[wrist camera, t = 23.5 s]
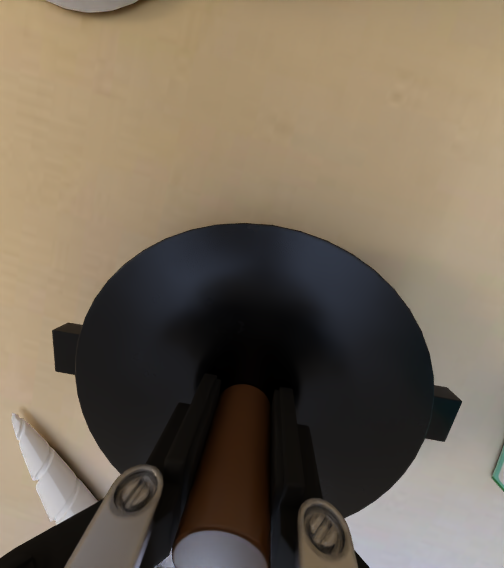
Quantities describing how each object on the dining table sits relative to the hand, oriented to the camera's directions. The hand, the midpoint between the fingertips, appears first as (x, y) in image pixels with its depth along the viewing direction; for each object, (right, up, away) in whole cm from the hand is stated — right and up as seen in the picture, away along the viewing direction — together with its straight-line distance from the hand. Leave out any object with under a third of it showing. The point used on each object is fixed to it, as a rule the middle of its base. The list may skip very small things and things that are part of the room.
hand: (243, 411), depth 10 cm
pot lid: (0, 0, +1) cm, 1 cm away
